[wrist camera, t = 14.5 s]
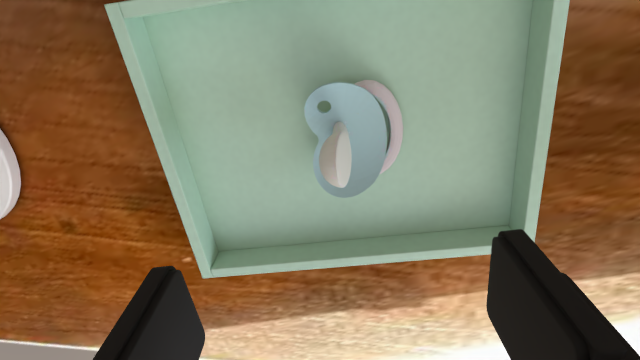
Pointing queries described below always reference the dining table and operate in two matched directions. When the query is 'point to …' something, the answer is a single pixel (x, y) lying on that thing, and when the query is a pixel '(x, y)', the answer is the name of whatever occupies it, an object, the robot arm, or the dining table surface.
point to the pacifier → (353, 135)
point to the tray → (307, 75)
